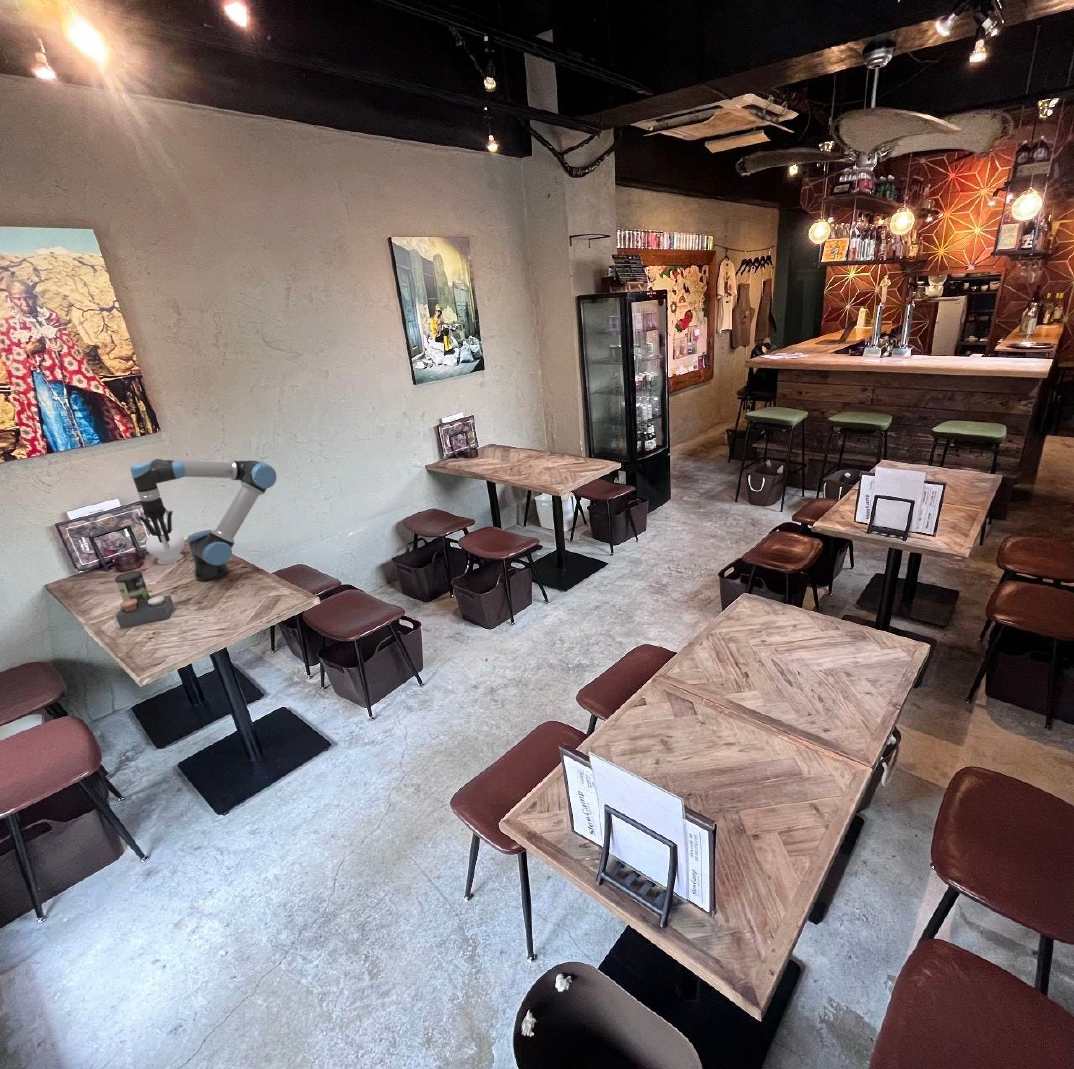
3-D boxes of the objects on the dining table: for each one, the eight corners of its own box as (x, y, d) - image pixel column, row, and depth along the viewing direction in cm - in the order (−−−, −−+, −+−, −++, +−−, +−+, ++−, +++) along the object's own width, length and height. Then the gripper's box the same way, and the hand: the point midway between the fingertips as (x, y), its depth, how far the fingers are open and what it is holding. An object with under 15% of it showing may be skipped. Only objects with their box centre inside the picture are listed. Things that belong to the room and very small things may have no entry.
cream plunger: (169, 608, 256) (165, 594, 254) (166, 614, 251) (162, 600, 249) (154, 611, 254) (149, 597, 252) (151, 617, 249) (146, 603, 247)
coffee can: (155, 596, 271) (145, 569, 266) (145, 606, 262) (134, 578, 256) (131, 599, 270) (121, 572, 265) (120, 609, 260) (109, 581, 255)
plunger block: (174, 606, 260) (170, 594, 257) (168, 618, 249) (164, 606, 247) (128, 616, 254) (123, 604, 252) (120, 628, 244) (115, 616, 241)
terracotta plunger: (143, 611, 253) (138, 597, 250) (139, 617, 247) (134, 603, 245) (127, 614, 251) (122, 600, 248) (123, 620, 246) (118, 606, 243)
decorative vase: (193, 557, 314) (180, 514, 305) (157, 569, 302) (141, 524, 293) (183, 550, 326) (169, 508, 316) (147, 560, 314) (132, 517, 305)
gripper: (131, 503, 246) (148, 554, 255) (165, 498, 250) (181, 548, 259) (135, 499, 252) (152, 548, 261) (169, 494, 256) (184, 542, 265)
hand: (167, 548), depth 260 cm, fingers closed
